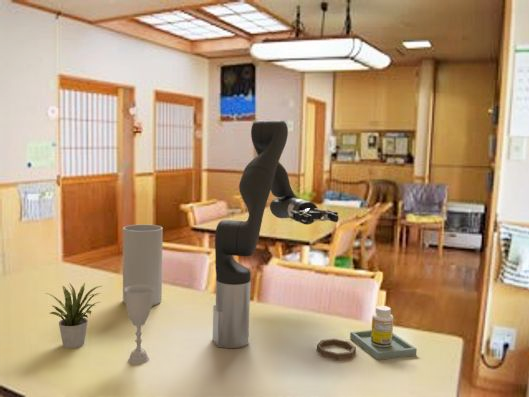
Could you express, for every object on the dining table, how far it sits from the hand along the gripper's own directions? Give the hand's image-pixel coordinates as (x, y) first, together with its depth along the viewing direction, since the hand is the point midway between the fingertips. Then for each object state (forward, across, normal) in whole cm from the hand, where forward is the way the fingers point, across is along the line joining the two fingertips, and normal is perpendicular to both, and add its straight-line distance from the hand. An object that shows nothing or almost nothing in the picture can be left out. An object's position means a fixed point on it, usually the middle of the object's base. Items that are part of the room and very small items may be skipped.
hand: (324, 219), depth 148 cm
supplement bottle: (+21, +9, +32) cm, 39 cm away
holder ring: (+21, -5, +32) cm, 39 cm away
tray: (+21, +9, +32) cm, 39 cm away
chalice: (+13, -55, +32) cm, 65 cm away
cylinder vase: (-31, -50, +32) cm, 67 cm away
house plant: (0, -69, +32) cm, 76 cm away
